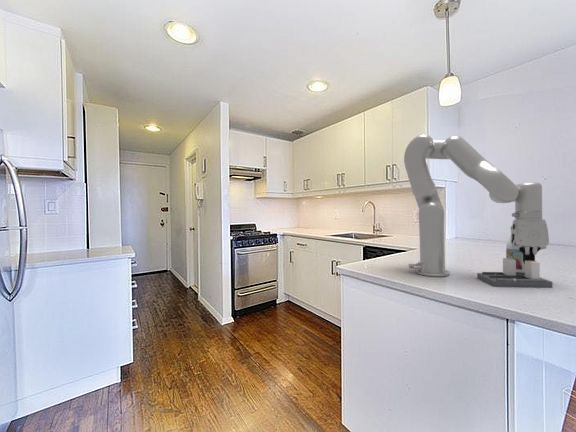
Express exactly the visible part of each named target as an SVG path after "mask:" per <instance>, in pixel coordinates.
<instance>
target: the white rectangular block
mask: <svg viewBox="0 0 576 432" xmlns="http://www.w3.org/2000/svg"><path fill="white" fill-rule="evenodd" d="M502 272H503V274H505V275H516V260H514V259H513V258H506V257H503V258H502Z"/></svg>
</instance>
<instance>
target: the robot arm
mask: <svg viewBox="0 0 576 432" xmlns="http://www.w3.org/2000/svg"><path fill="white" fill-rule="evenodd" d="M426 159H428V160H430V159H431V160H450V161H451V162H452V163H454V165H455V166H456V167H457V168H458V169H459V170H461V172H463V174H464V175H466V176H467V177H469V178H470V179H473V180H475V181H476V182H477V183H479V184H480V185H481V186H482V187H483V188H484V189H485V190H486V191H487V192H488V197H489V199H490V200H491V201H492V202H494V203H496V204H509V203H513V202H514V203H515V204H514V207H515V208H514V209H515V210H514V212H512V213H511V217H513V218H514V219H513V220H512V224H511V226H512V229H511V228H510V236H511V243H512V248H513V249H517V250H519V251H520V252H521V253H523V262H524V264H525V261H536V255H537V254H538V253H539V251H540V250H546V249H547V247H548V245H549V244H550V239H549V238H550V236H549V229H548V224H547V220H546V219H543V186H542V183H540V182H521V183H518V184H515V183H514V182H513V181H512V180H511V179H510V178H509V177H508V176H507V175H505V174H504V173H503V171H501V170H500V169H499V168H498V167H496V166H495V165H493V164H492V163H491V162H490V161H489V160H487V159H486V158H485V157H484V156H482V155H481V154H480V152H478V150H476V149H475V148H474V147H473V146H472V145H471V144H469V142H468V141H466V139H464V138H463V137H462V136H459V135H451V136H449V137H447V138H446V139H445V140H444V139H441V140H437V139H433V138H432V137H431V136H430V135H428V134H418V135H416V136H415V137H414V138H413V139H412V140H410V142H409V143H408V145H407V146H406V148H405V150H404V155H403V162H404V163H403V164H404V167H405V170H406V171H405V172H406V175H407V178H408V181H409V185H410V187H411V192H412V195H414V198H415V201H416V204H417V207H418V229H419V230H418V232H419V234H418V235H419V236H418V237H419V261H417V263H408V269H414V270H416V274H419V275H422V276H426V277H433V278H434V277H436V278H437V277H439V278H440V277H447V276H450V271H449V270H448V269H446V257H445V256H446V255H445V254H446V252H445V210H444V207H443V205H442V201H441V199H440V196H439V193H438V191H437V190H438V189H437V187H436V183H435V182H434V180H433V178H432V176H431V173H430V171H429V167H428V163H427V160H426ZM519 246H520V247H519ZM528 247H529V248H528Z"/></svg>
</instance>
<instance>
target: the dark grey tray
mask: <svg viewBox="0 0 576 432" xmlns="http://www.w3.org/2000/svg"><path fill="white" fill-rule="evenodd" d="M476 276H477V277H476V278H477V279H479V280H480V281H483V282H484V283H486V284H488V285H490V286H491V287H498V288H501V287H502V288H503V287H504V288H507V287H508V288H549V289H550V288H553V281H551V280H548V279H545V278H543V277H540V279H529V278H526V277H525V272H516V275H505V274H503V271H481V272H477V273H476Z"/></svg>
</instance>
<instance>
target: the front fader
mask: <svg viewBox="0 0 576 432" xmlns="http://www.w3.org/2000/svg"><path fill="white" fill-rule="evenodd" d="M540 263H541V262H538V261H537V260H535V261H525V277H526V278H529V279H540V278H541V275H540V271H541V270H540V267H541V266H540Z"/></svg>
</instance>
